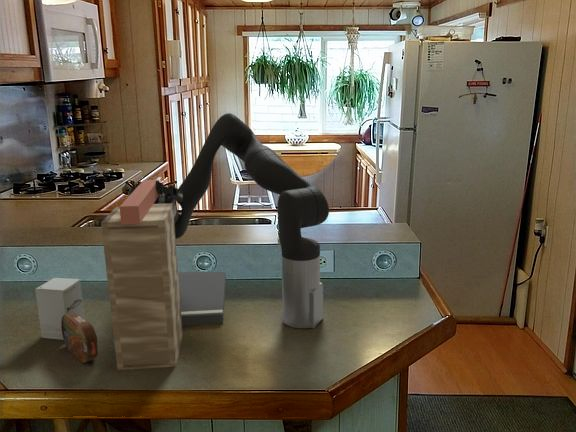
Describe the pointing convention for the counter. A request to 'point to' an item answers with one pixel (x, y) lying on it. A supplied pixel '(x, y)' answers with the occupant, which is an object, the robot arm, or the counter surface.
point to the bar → (139, 203)
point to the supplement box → (58, 304)
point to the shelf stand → (143, 288)
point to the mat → (202, 297)
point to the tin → (79, 337)
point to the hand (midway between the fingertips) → (148, 185)
